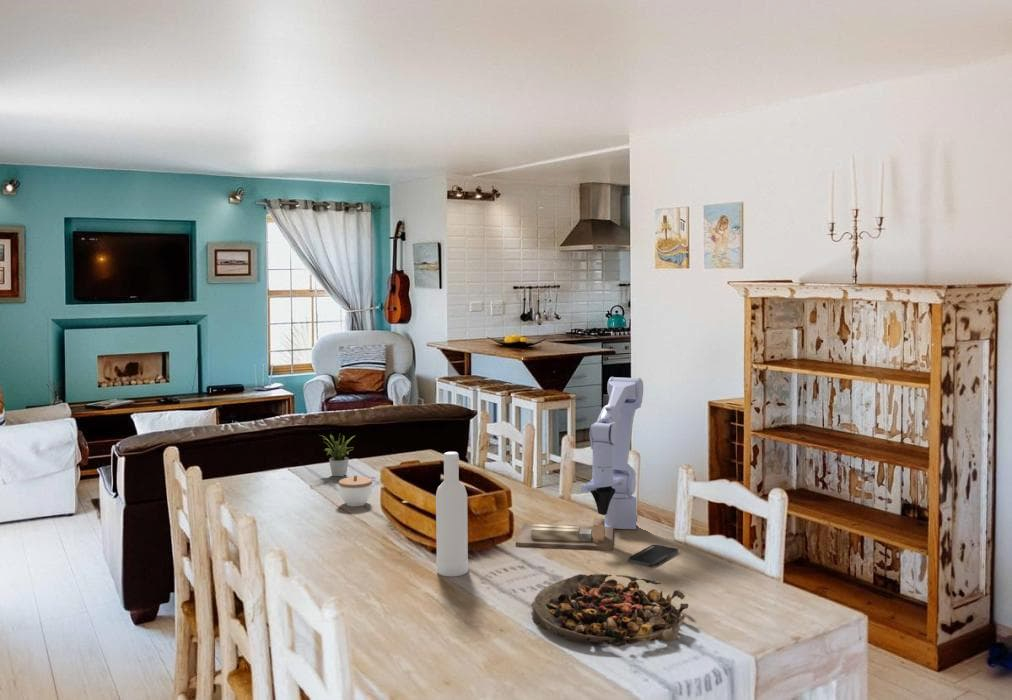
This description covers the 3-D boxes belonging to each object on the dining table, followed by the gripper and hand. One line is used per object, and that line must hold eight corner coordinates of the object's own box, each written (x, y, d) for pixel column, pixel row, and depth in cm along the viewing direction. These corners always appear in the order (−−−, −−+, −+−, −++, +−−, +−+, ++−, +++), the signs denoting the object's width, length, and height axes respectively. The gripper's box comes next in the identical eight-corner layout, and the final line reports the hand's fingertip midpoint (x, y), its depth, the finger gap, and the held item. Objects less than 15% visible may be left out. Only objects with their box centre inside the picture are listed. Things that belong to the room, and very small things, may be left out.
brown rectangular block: (604, 534, 240) (604, 518, 239) (603, 541, 233) (604, 525, 233) (593, 534, 240) (593, 518, 240) (592, 541, 234) (592, 524, 233)
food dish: (721, 630, 182) (722, 595, 181) (603, 675, 163) (604, 636, 162) (609, 577, 210) (609, 547, 209) (498, 611, 191) (498, 577, 190)
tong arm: (579, 534, 240) (579, 526, 240) (578, 537, 238) (578, 528, 238) (533, 532, 243) (533, 523, 242) (532, 534, 241) (532, 525, 241)
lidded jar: (379, 502, 280) (379, 474, 279) (357, 510, 271) (356, 481, 270) (354, 498, 285) (354, 470, 284) (332, 505, 276) (331, 476, 275)
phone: (626, 558, 221) (653, 543, 233) (626, 563, 221) (653, 547, 233) (654, 564, 217) (680, 549, 228) (654, 569, 217) (680, 553, 229)
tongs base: (613, 530, 248) (613, 518, 248) (611, 550, 230) (611, 536, 230) (523, 526, 252) (523, 514, 252) (515, 546, 234) (515, 533, 234)
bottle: (429, 571, 214) (428, 453, 212) (452, 563, 220) (451, 448, 217) (451, 579, 209) (450, 457, 206) (474, 571, 215) (473, 452, 212)
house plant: (309, 479, 312) (308, 434, 310) (324, 470, 325) (323, 428, 324) (347, 480, 309) (346, 435, 308) (360, 472, 323) (359, 429, 321)
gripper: (611, 459, 245) (611, 506, 246) (573, 466, 236) (573, 515, 237) (629, 464, 239) (629, 511, 240) (590, 471, 231) (590, 520, 232)
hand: (602, 513), depth 238 cm, fingers closed
